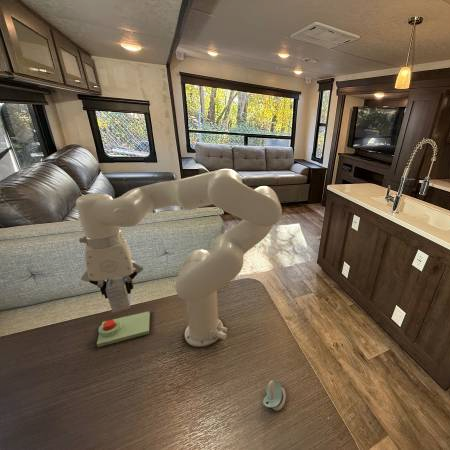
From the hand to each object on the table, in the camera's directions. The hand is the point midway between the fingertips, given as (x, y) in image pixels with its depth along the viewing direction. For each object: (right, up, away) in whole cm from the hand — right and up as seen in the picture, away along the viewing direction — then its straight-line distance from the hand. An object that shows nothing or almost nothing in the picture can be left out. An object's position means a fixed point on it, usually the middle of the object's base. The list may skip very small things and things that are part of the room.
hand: (118, 292), depth 74 cm
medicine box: (0, -4, +2) cm, 4 cm away
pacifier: (+48, -28, -6) cm, 56 cm away
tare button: (-9, -14, +8) cm, 18 cm away
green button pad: (-6, -16, +11) cm, 20 cm away
